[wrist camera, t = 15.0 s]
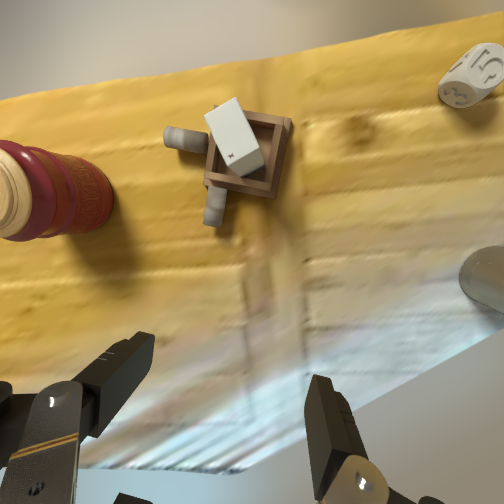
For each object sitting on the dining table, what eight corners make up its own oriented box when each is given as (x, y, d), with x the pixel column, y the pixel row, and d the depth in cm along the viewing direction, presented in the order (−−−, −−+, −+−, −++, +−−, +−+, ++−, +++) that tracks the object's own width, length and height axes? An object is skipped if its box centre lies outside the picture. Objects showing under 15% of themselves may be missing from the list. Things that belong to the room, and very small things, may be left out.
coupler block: (291, 120, 37) (292, 110, 33) (267, 234, 40) (266, 237, 36) (179, 101, 38) (168, 89, 34) (166, 213, 42) (155, 214, 38)
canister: (85, 142, 41) (-56, 96, 23) (129, 207, 42) (27, 209, 25) (34, 184, 43) (-127, 171, 26) (78, 245, 45) (-48, 270, 27)
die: (457, 58, 33) (489, 33, 28) (485, 81, 33) (521, 60, 28) (430, 92, 34) (456, 73, 29) (457, 113, 34) (487, 98, 29)
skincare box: (266, 166, 37) (261, 149, 26) (242, 179, 38) (226, 168, 26) (249, 129, 37) (236, 94, 25) (225, 143, 37) (201, 115, 26)
